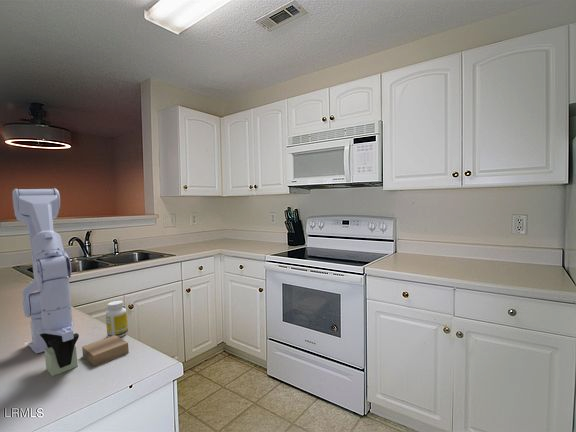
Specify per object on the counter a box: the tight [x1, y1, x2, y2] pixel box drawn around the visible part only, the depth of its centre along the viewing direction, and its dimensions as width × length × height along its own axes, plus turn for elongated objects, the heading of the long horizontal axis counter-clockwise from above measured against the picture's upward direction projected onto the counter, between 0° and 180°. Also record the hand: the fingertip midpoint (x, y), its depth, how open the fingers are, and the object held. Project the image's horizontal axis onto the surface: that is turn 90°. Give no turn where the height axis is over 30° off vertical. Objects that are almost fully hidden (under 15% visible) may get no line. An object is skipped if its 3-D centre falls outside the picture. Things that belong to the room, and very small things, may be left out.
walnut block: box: [81, 335, 130, 367], centre depth 79 cm, size 8×8×3 cm
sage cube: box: [44, 345, 78, 377], centre depth 73 cm, size 5×5×5 cm
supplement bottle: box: [105, 300, 129, 338], centre depth 91 cm, size 5×5×10 cm
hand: (61, 362), depth 73 cm, fingers closed on sage cube, 5 cm apart
